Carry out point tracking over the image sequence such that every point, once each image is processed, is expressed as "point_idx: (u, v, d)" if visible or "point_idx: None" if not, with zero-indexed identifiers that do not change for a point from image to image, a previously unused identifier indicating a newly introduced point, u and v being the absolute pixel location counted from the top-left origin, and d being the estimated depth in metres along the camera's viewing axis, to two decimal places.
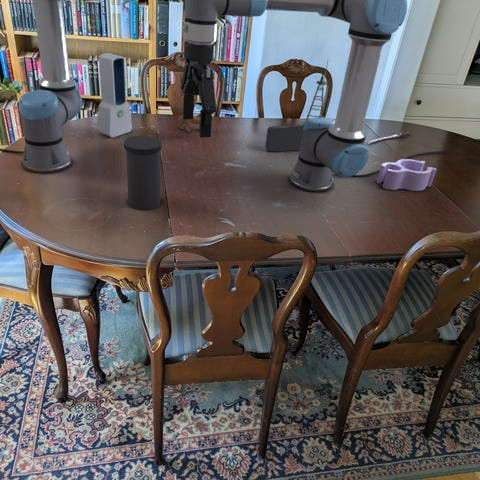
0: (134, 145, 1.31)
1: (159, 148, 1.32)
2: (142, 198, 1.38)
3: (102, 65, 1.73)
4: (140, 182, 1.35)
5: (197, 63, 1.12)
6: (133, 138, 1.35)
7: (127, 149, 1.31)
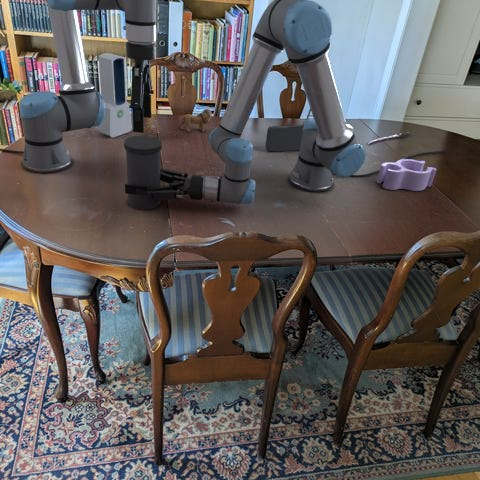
0: (134, 145, 1.31)
1: (159, 148, 1.32)
2: (142, 198, 1.38)
3: (102, 65, 1.73)
4: (140, 182, 1.35)
5: None
6: (133, 138, 1.35)
7: (127, 149, 1.31)
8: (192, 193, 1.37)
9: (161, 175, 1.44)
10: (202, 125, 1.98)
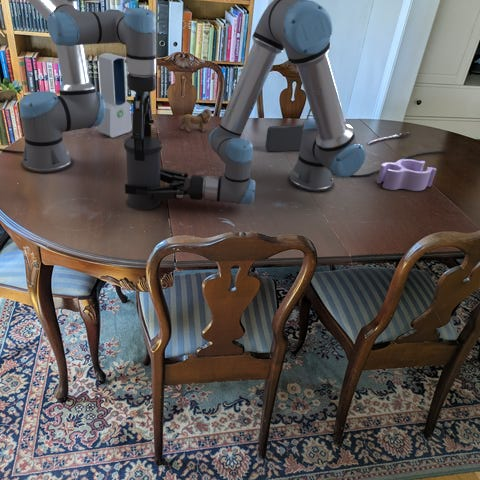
0: None
1: (159, 148, 1.32)
2: (142, 198, 1.38)
3: (102, 65, 1.73)
4: (140, 182, 1.35)
5: None
6: None
7: (127, 149, 1.31)
8: (192, 193, 1.37)
9: (161, 175, 1.44)
10: (202, 125, 1.98)
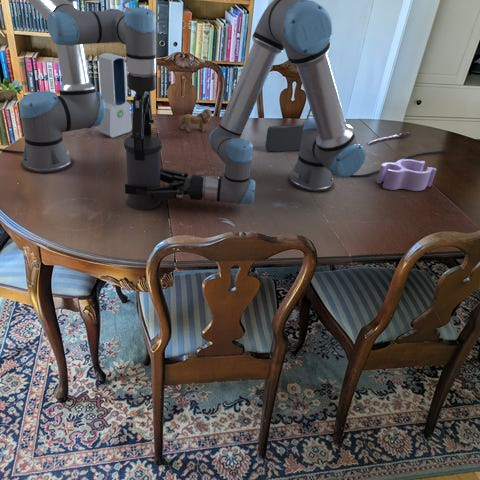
0: (155, 142, 1.33)
1: None
2: (142, 198, 1.38)
3: (102, 65, 1.73)
4: (140, 182, 1.35)
5: None
6: None
7: (160, 148, 1.33)
8: (192, 193, 1.37)
9: (161, 175, 1.44)
10: (202, 125, 1.98)
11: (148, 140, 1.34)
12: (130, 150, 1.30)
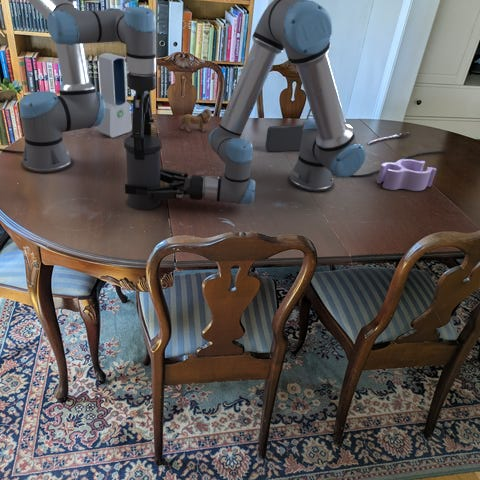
0: None
1: (129, 148, 1.30)
2: (142, 198, 1.38)
3: (102, 65, 1.73)
4: (140, 182, 1.35)
5: None
6: (155, 139, 1.35)
7: None
8: (192, 192, 1.37)
9: (161, 175, 1.44)
10: (202, 125, 1.98)
11: None
12: (161, 146, 1.34)
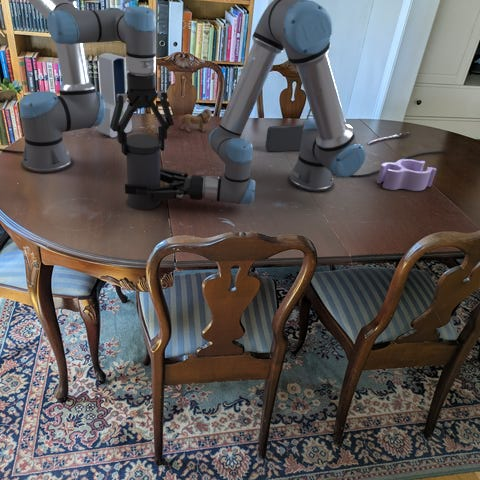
0: (136, 144, 1.30)
1: (160, 145, 1.33)
2: (142, 198, 1.38)
3: (102, 65, 1.73)
4: (140, 182, 1.35)
5: None
6: (131, 137, 1.34)
7: (130, 149, 1.30)
8: (192, 192, 1.37)
9: (161, 175, 1.44)
10: (202, 125, 1.98)
11: (144, 143, 1.32)
12: None
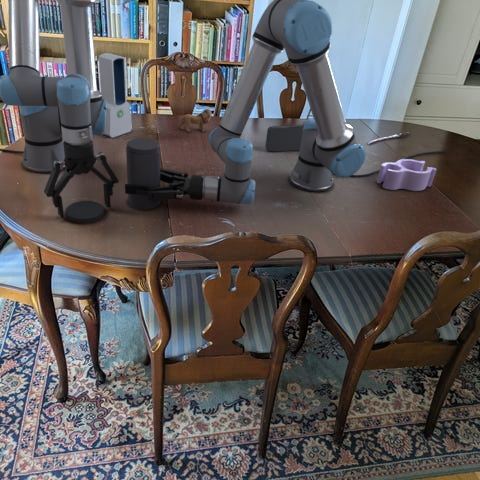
0: (78, 215, 1.31)
1: (103, 213, 1.34)
2: (142, 198, 1.38)
3: (102, 65, 1.73)
4: (140, 182, 1.35)
5: None
6: (73, 206, 1.34)
7: (71, 220, 1.30)
8: (192, 192, 1.37)
9: (161, 175, 1.44)
10: (202, 125, 1.98)
11: (86, 212, 1.32)
12: None
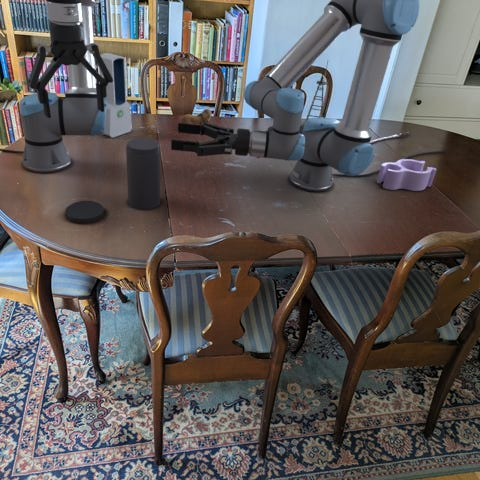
0: (78, 215, 1.31)
1: (103, 213, 1.34)
2: (142, 198, 1.38)
3: None
4: (140, 182, 1.35)
5: None
6: (73, 206, 1.34)
7: (71, 220, 1.30)
8: (239, 147, 1.29)
9: (207, 129, 1.37)
10: None
11: (86, 212, 1.32)
12: None
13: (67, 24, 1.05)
